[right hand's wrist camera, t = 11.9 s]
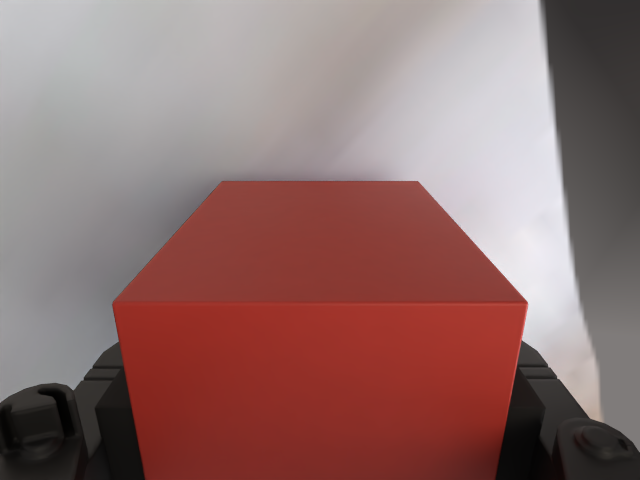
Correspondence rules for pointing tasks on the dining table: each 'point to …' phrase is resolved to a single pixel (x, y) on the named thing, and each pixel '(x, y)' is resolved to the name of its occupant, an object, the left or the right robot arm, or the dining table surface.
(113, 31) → the dining table surface
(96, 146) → the dining table surface
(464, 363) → the block
